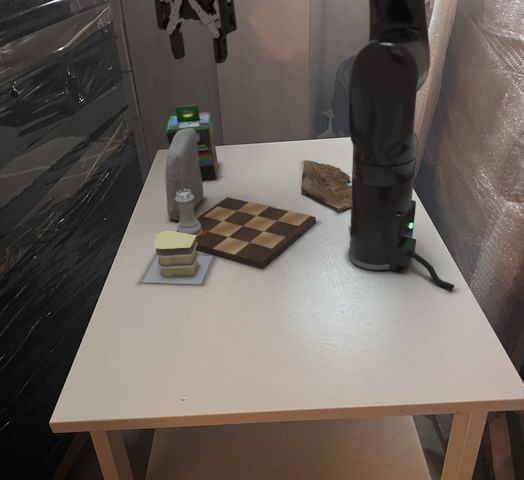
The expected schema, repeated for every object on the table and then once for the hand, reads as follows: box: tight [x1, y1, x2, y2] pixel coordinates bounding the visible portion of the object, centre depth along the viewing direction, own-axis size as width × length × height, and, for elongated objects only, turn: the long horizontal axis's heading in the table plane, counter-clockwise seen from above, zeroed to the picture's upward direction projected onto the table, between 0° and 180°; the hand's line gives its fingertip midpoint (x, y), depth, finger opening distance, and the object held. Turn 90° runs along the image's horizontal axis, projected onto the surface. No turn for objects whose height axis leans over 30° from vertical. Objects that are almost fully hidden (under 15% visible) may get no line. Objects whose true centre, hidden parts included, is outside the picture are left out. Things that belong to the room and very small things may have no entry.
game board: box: [175, 196, 317, 270], centre depth 106 cm, size 20×18×1 cm
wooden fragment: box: [300, 159, 352, 214], centre depth 120 cm, size 26×11×1 cm, turn 9°
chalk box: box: [165, 104, 219, 181], centre depth 125 cm, size 9×9×15 cm
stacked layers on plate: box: [141, 230, 214, 285], centre depth 96 cm, size 10×9×6 cm
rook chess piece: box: [175, 189, 202, 238], centre depth 102 cm, size 4×4×8 cm
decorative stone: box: [164, 128, 204, 221], centre depth 111 cm, size 11×6×15 cm, turn 168°
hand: (200, 60), depth 97 cm, fingers open, 8 cm apart
